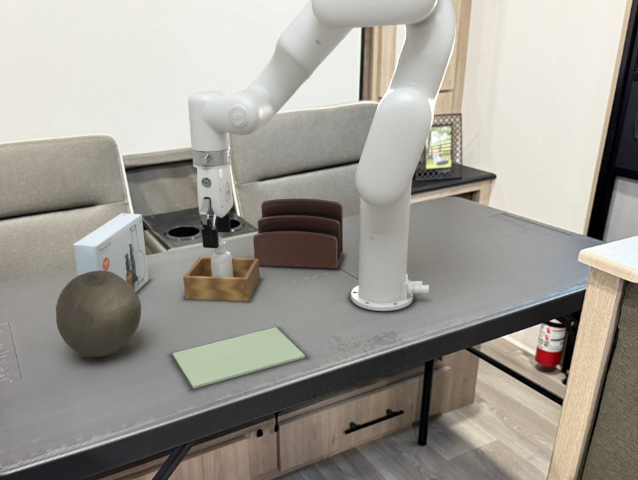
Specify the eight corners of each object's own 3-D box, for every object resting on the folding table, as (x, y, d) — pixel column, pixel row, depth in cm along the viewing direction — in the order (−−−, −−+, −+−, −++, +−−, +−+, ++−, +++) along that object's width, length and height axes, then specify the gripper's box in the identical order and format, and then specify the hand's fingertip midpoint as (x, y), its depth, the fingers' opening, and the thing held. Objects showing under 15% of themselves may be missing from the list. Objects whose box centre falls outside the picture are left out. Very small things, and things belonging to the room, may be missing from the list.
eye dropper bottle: (240, 288, 131) (236, 236, 126) (217, 295, 128) (212, 242, 123) (229, 282, 134) (225, 231, 129) (207, 289, 131) (202, 236, 126)
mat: (276, 329, 113) (275, 326, 113) (305, 357, 104) (305, 355, 103) (172, 355, 106) (172, 353, 106) (193, 389, 96) (193, 386, 96)
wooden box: (259, 279, 135) (258, 258, 133) (248, 301, 125) (246, 279, 123) (201, 277, 138) (199, 257, 135) (185, 299, 127) (183, 277, 125)
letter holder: (264, 251, 151) (261, 196, 146) (343, 254, 148) (343, 198, 142) (254, 266, 143) (250, 208, 137) (337, 270, 139) (337, 210, 133)
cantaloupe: (68, 381, 99) (50, 298, 93) (61, 343, 111) (44, 268, 105) (153, 361, 104) (142, 281, 98) (138, 327, 116) (126, 254, 110)
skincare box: (108, 322, 119) (95, 246, 112) (83, 320, 120) (68, 244, 113) (151, 280, 137) (142, 212, 131) (129, 278, 138) (118, 211, 132)
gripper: (218, 168, 111) (224, 255, 118) (240, 149, 126) (244, 227, 134) (179, 167, 112) (187, 253, 119) (205, 148, 128) (211, 225, 135)
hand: (217, 239), depth 127 cm, fingers open, 9 cm apart
